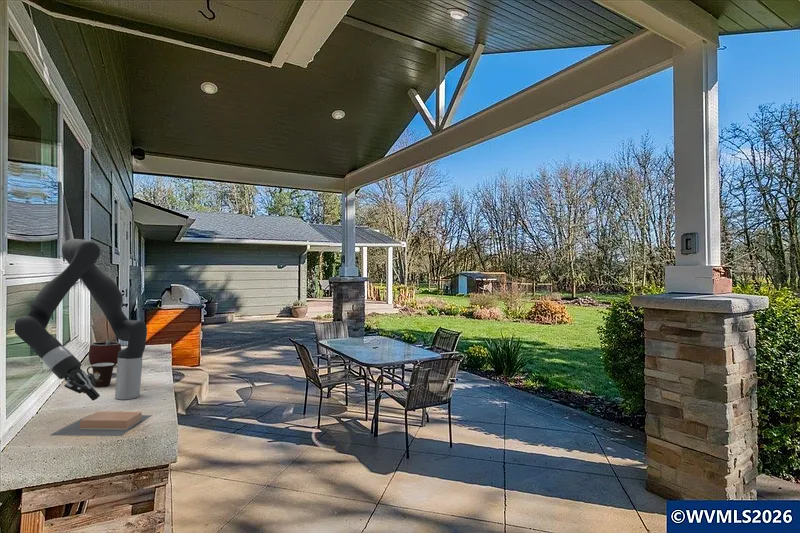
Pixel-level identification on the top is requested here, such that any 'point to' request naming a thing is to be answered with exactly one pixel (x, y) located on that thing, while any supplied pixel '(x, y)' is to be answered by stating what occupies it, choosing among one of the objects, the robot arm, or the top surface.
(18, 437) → the top surface
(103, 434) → the mat
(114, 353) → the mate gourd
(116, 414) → the tile
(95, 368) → the coffee mug
